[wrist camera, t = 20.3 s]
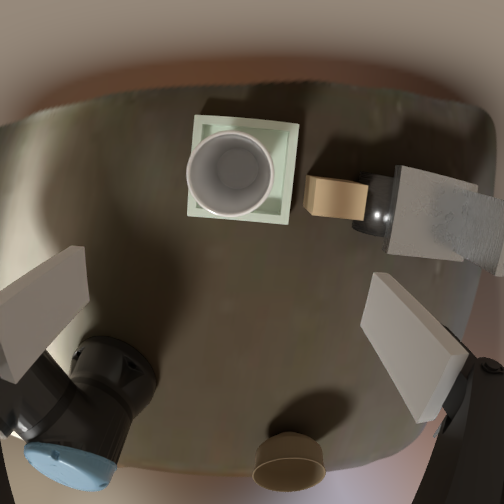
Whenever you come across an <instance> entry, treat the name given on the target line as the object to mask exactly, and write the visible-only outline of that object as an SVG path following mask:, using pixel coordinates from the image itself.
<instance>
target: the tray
mask: <svg viewBox="0 0 504 504" xmlns="http://www.w3.org/2000/svg"><path fill="white" fill-rule="evenodd" d="M226 130H235V131H241V132H245V133H247V134H250V135H252V136H253V137H255V138H256V139H258V140H259V141H260V142H261V143H262V144H263V145H264V146H265V147H266V148H267V150H268V152H269V153H270V155H271V158H272V160H273V164H274V172H275V174H274V183H273V186H272V189H271V192H270V194H269V195H268V197H267V198H266V200H265V201H264V202H263V203H262V204H261V205H260V206H259V207H258V208H257V209H255V210H254V211H252V212H250V213H248V214H246V215H242V216H238V217H222V216H218V215H215V214H212V213H210V212H208V211H207V210H205V209H204V208H202V207H201V206H200V205H199V204H198V203H197V202H196V200H195V199H194V198H193V196H192V194H191V192H190V190H189V191H188V209H187V216H194V217H207V218H219V219H231V220H243V221H254V222H265V223H275V224H286V225H288V221H289V213H290V204H291V196H292V187H293V179H294V170H295V160H296V151H297V142H298V132H299V124H295V123H287V122H279V121H271V120H261V119H251V118H239V117H225V116H208V115H195V118H194V128H193V139H192V150H191V154H192V152H193V150H194V149H195V147H196V146H197V145H198V144H199V143H200V142H201V141H202V140H203V139H205V138H206V137H208V136H210V135H212V134H214V133H217V132H220V131H226Z"/></svg>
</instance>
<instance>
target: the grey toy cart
mask: <svg viewBox="0 0 504 504" xmlns="http://www.w3.org/2000/svg"><path fill="white" fill-rule="evenodd" d="M358 183H361V184H364V185H368V192H367V199H366V206H365V213H364V219H363V221H361V220H353V223H352V228H353V229H355V230H357V231H359V232H362V233H366V234H369V235H374V236H379V237H384V241H383V246H382V250H383V251H384V252H386V253H387V254H394V255H404V256H414V257H424V258H433V259H443V260H452V261H462V262H463V260H464V258H466V259H467V260H469V261H471V262H472V263H474V264H476V265H477V266H479V267H481V268H482V269H484V270H486V271H487V272H489V273H491V274H492V275H494V276H501V277H503V275H504V200H501V199H497V198H494V197H490V196H487V195H483V194H479V193H477V190H478V185H475V184H472V183H468V182H465V181H461V180H458V179H454V178H450V177H447V176H443V175H439V174H435V173H431V172H427V171H423V170H419V169H415V168H411V167H406V166H402V165H396V166H395V174H394V178H393V177H388V176H383V175H378V174H372V173H367V172H361V171H360V175H359V182H358Z"/></svg>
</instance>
